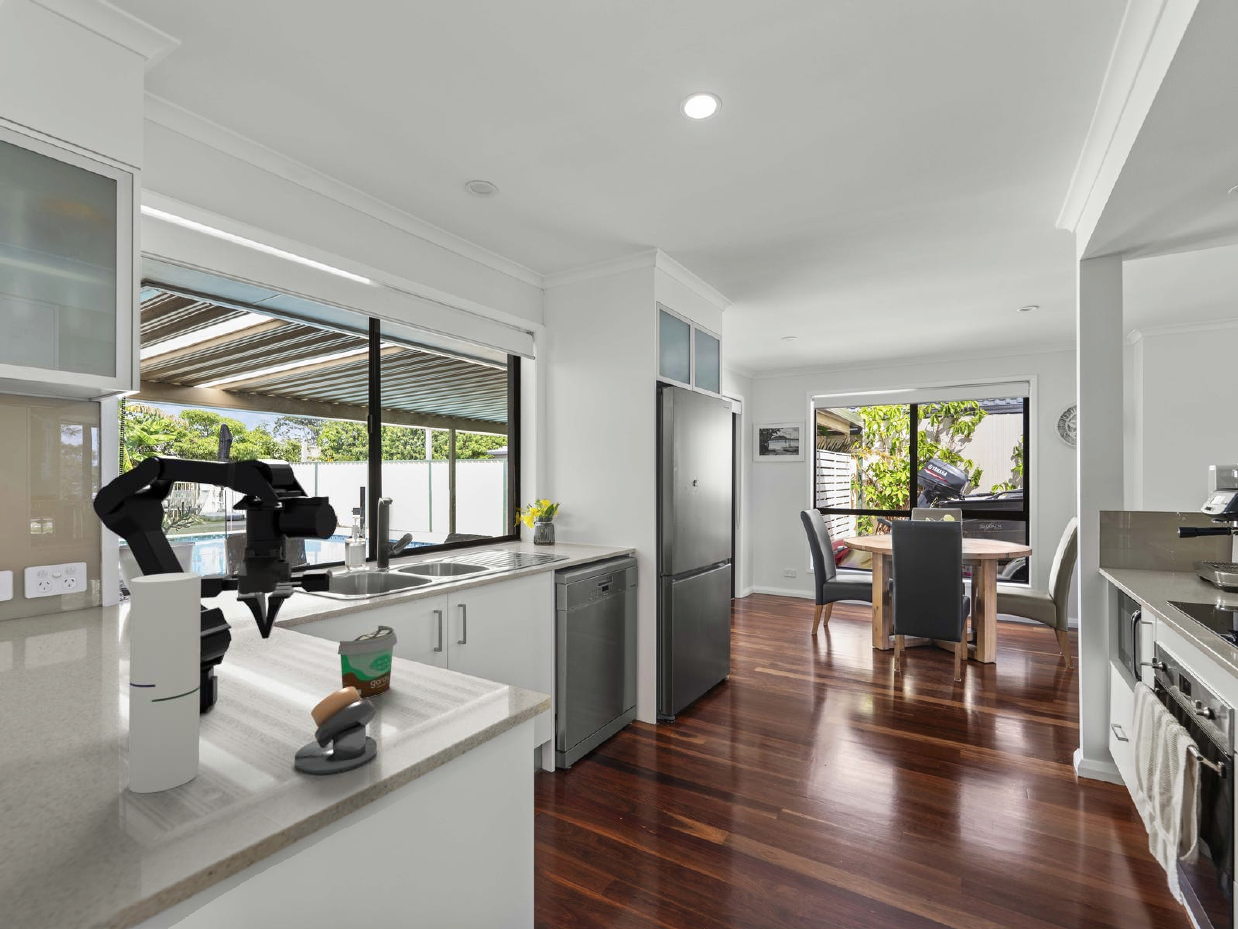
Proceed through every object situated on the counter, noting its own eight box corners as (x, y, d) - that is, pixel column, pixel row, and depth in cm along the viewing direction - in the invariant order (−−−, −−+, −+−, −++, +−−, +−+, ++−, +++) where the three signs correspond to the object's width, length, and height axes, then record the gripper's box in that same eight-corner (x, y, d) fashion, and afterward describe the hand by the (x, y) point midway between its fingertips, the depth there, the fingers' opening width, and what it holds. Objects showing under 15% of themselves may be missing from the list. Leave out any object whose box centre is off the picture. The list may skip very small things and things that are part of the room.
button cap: (302, 732, 84) (303, 689, 84) (341, 717, 89) (342, 676, 89) (331, 741, 81) (331, 696, 81) (370, 725, 86) (370, 683, 86)
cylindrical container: (152, 766, 82) (154, 573, 83) (210, 764, 83) (212, 572, 83) (113, 794, 75) (116, 582, 75) (177, 792, 76) (179, 581, 76)
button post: (277, 764, 83) (278, 702, 83) (343, 736, 92) (343, 680, 92) (329, 782, 78) (329, 716, 78) (393, 750, 87) (393, 691, 87)
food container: (370, 705, 104) (371, 644, 104) (337, 702, 105) (337, 642, 105) (410, 681, 116) (410, 626, 116) (379, 678, 117) (380, 624, 117)
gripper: (180, 546, 90) (179, 657, 89) (325, 542, 96) (325, 646, 95) (204, 538, 100) (203, 638, 100) (333, 535, 106) (332, 629, 106)
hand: (265, 638), depth 100 cm, fingers closed
